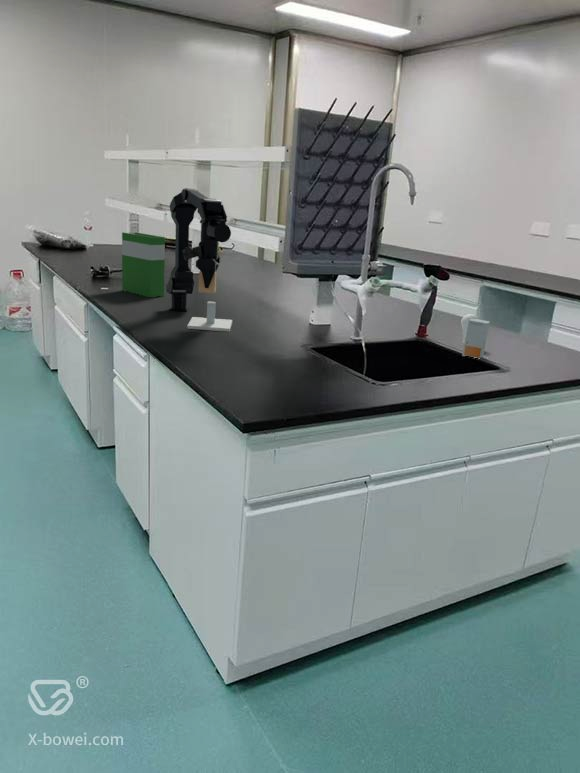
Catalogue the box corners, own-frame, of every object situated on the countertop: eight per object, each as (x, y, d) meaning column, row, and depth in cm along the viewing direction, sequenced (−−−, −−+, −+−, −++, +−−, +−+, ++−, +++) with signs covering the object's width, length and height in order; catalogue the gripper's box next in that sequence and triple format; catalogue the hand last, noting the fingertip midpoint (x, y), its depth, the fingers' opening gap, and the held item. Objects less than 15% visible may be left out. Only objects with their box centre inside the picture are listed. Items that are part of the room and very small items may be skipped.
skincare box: (461, 356, 192) (468, 319, 188) (464, 353, 195) (471, 318, 192) (480, 360, 189) (487, 323, 185) (483, 357, 193) (490, 321, 189)
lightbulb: (465, 347, 204) (471, 316, 200) (453, 343, 209) (458, 312, 205) (478, 347, 206) (484, 316, 203) (466, 342, 211) (471, 312, 208)
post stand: (192, 319, 209) (193, 297, 207) (232, 322, 210) (233, 300, 208) (187, 328, 196) (188, 304, 194) (229, 331, 197) (231, 307, 195)
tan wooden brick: (200, 289, 202) (201, 269, 200) (215, 290, 202) (216, 271, 200) (198, 292, 197) (199, 271, 195) (214, 293, 197) (215, 273, 195)
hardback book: (122, 290, 252) (122, 232, 244) (136, 289, 257) (136, 232, 250) (149, 297, 242) (150, 237, 235) (163, 296, 248) (164, 237, 240)
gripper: (188, 235, 203) (187, 281, 207) (180, 239, 185) (179, 289, 190) (221, 237, 203) (219, 283, 208) (216, 242, 185) (214, 292, 190)
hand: (207, 286), depth 199 cm, fingers closed on tan wooden brick, 5 cm apart
